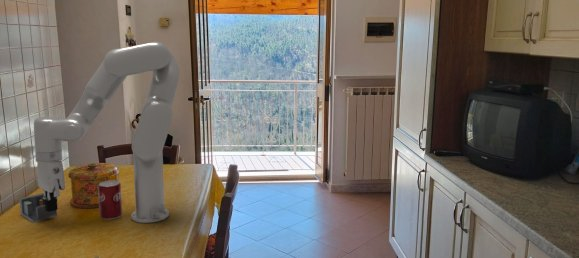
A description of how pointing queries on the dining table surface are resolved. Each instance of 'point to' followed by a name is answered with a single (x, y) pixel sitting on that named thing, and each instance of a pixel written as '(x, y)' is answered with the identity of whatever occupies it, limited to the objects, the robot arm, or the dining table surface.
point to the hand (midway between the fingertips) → (51, 210)
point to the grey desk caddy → (32, 207)
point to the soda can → (110, 200)
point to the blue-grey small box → (43, 211)
